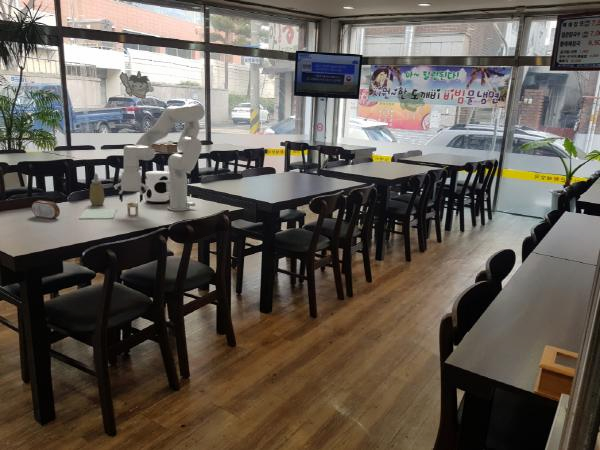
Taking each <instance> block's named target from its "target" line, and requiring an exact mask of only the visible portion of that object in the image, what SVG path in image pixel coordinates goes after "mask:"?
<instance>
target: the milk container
mask: <svg viewBox="0 0 600 450" xmlns="http://www.w3.org/2000/svg"><path fill="white" fill-rule="evenodd" d="M144 177H145V179H144V180H145V185H146V186H148V189H147V191H146V192H145V193H144V194H143V197H144V199H145V201H146V202H149V203H152V204H164V203H165V204H167V203H170V175H169V171H164V170H151V171H150V170H149V171H146V172H145V176H144ZM166 202H167V203H166Z"/></svg>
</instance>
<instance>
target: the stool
mask: <svg viewBox="0 0 600 450" xmlns="http://www.w3.org/2000/svg"><path fill="white" fill-rule="evenodd" d="M126 206H127V216H130V215H131V208H134V209H135V210H134V211H135V216H138V214H139V201H129V200H128V201H127V203H126Z"/></svg>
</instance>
